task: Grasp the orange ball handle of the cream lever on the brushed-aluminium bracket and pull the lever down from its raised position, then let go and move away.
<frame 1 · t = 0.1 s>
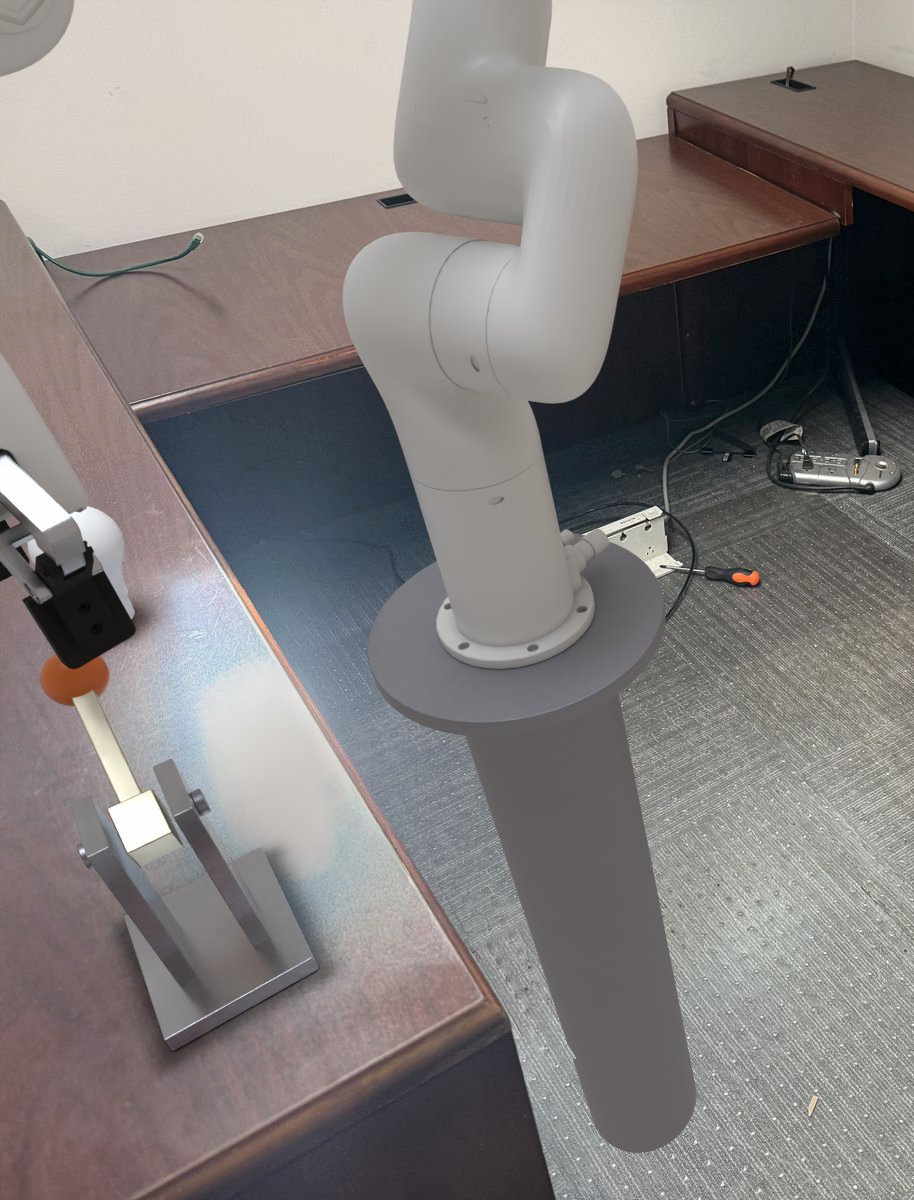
hand: (47, 613, 52), 23 cm above the table, tool pointing down, fingers open, 9 cm apart
lightbulb: (123, 626, 88), on the table
lever: (109, 748, 59), point 13 cm above the table, hinge at 25.0°
bracket: (223, 947, 64), on the table
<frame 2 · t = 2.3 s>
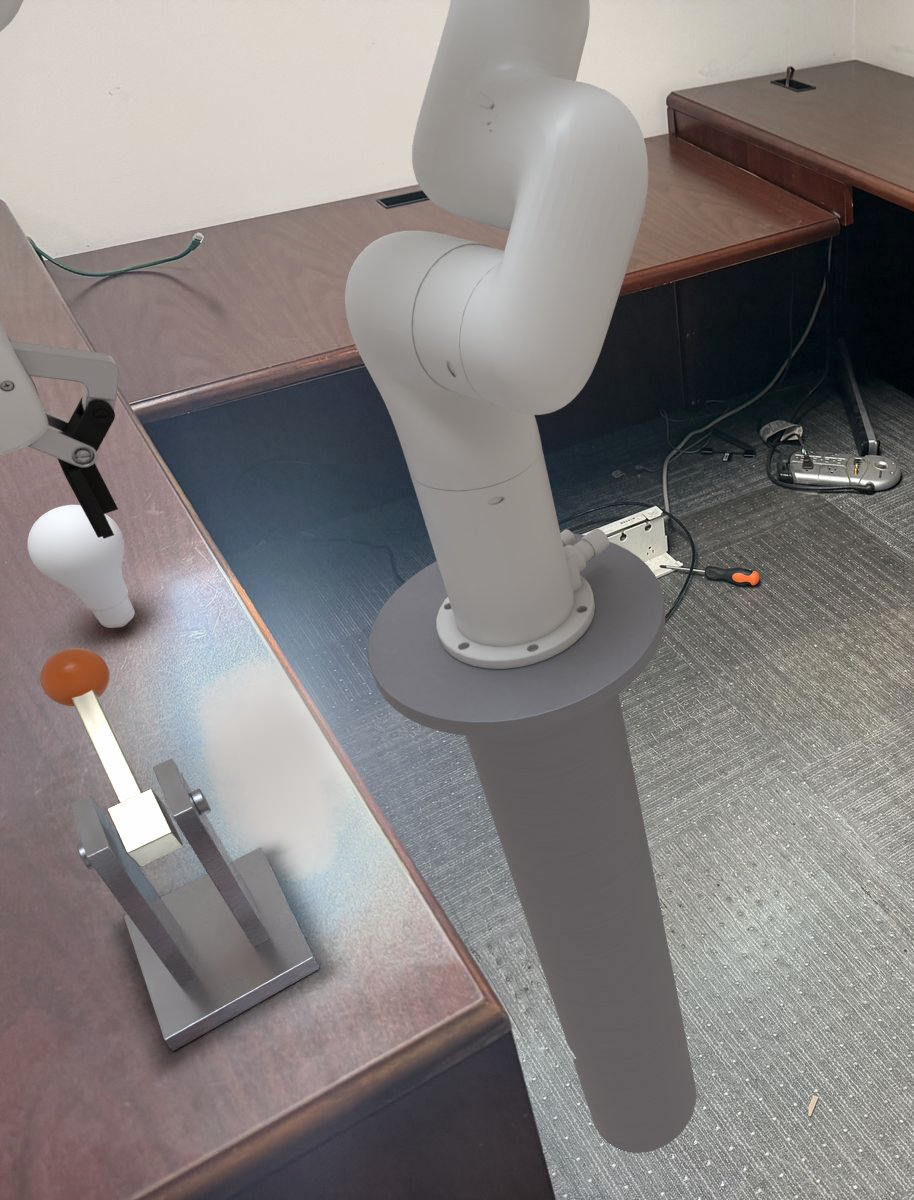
nothing on the table moved.
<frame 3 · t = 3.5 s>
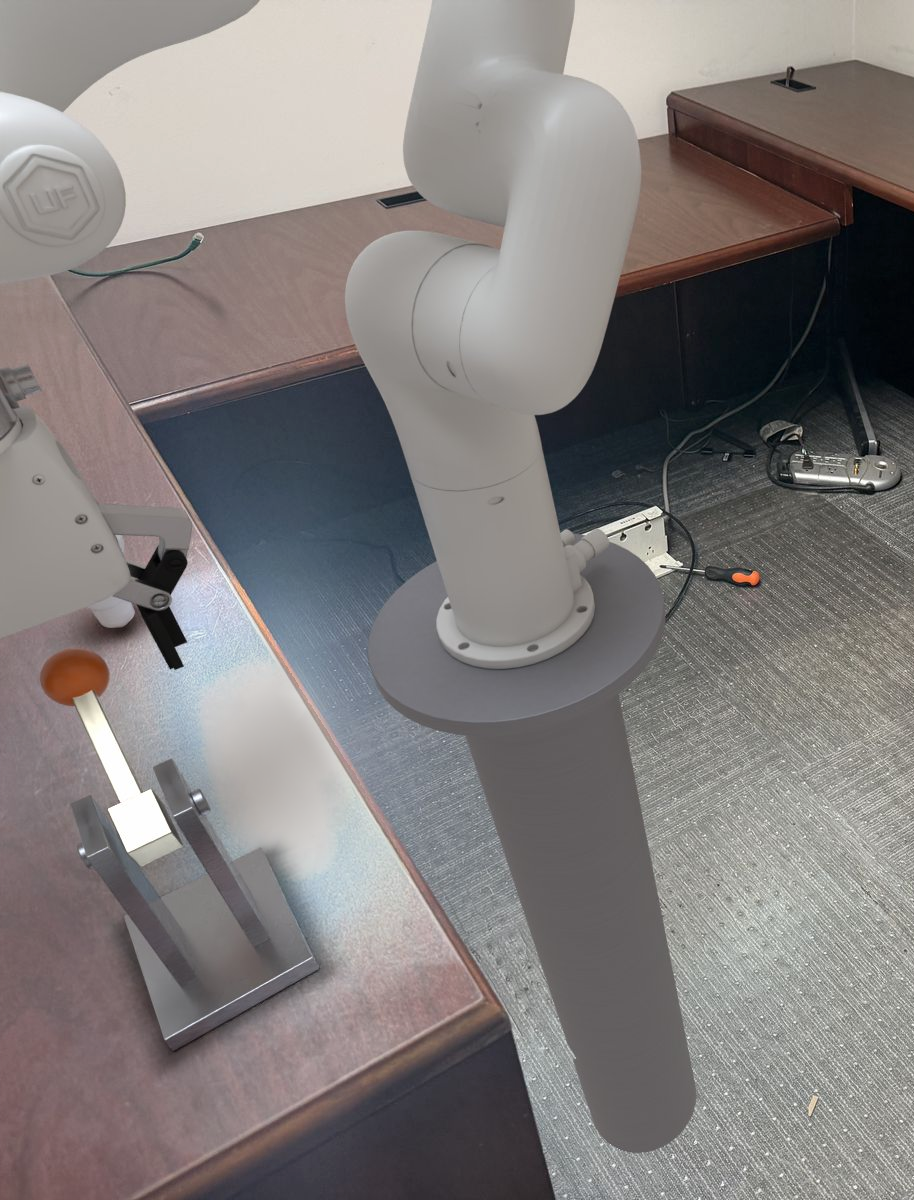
hand: (80, 693, 61), 14 cm above the table, tool pointing down, fingers open, 9 cm apart
nothing on the table moved.
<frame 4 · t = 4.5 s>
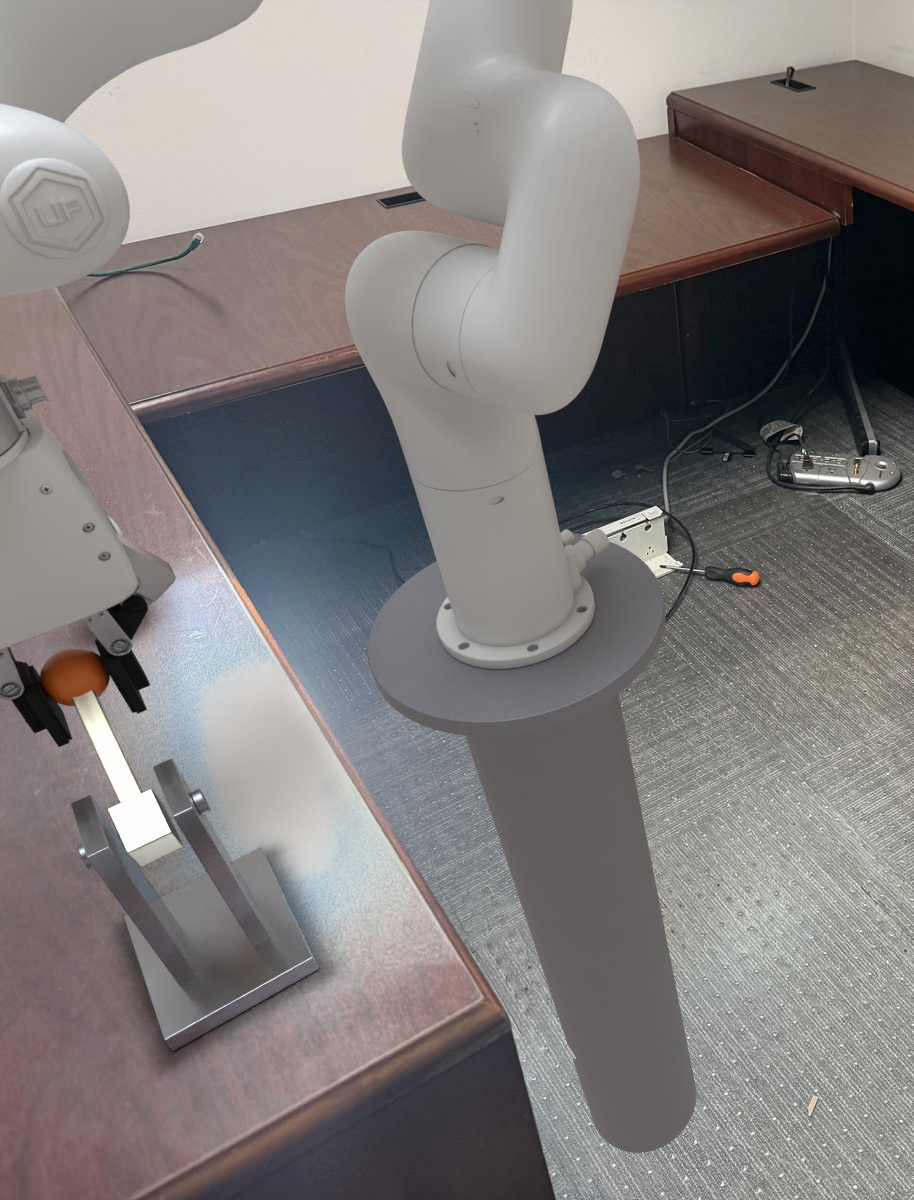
hand: (97, 712, 62), 12 cm above the table, tool pointing down, fingers closed on lever, 3 cm apart
lever: (109, 748, 59), point 13 cm above the table, hinge at 25.0°, touching gripper
everything else where it was.
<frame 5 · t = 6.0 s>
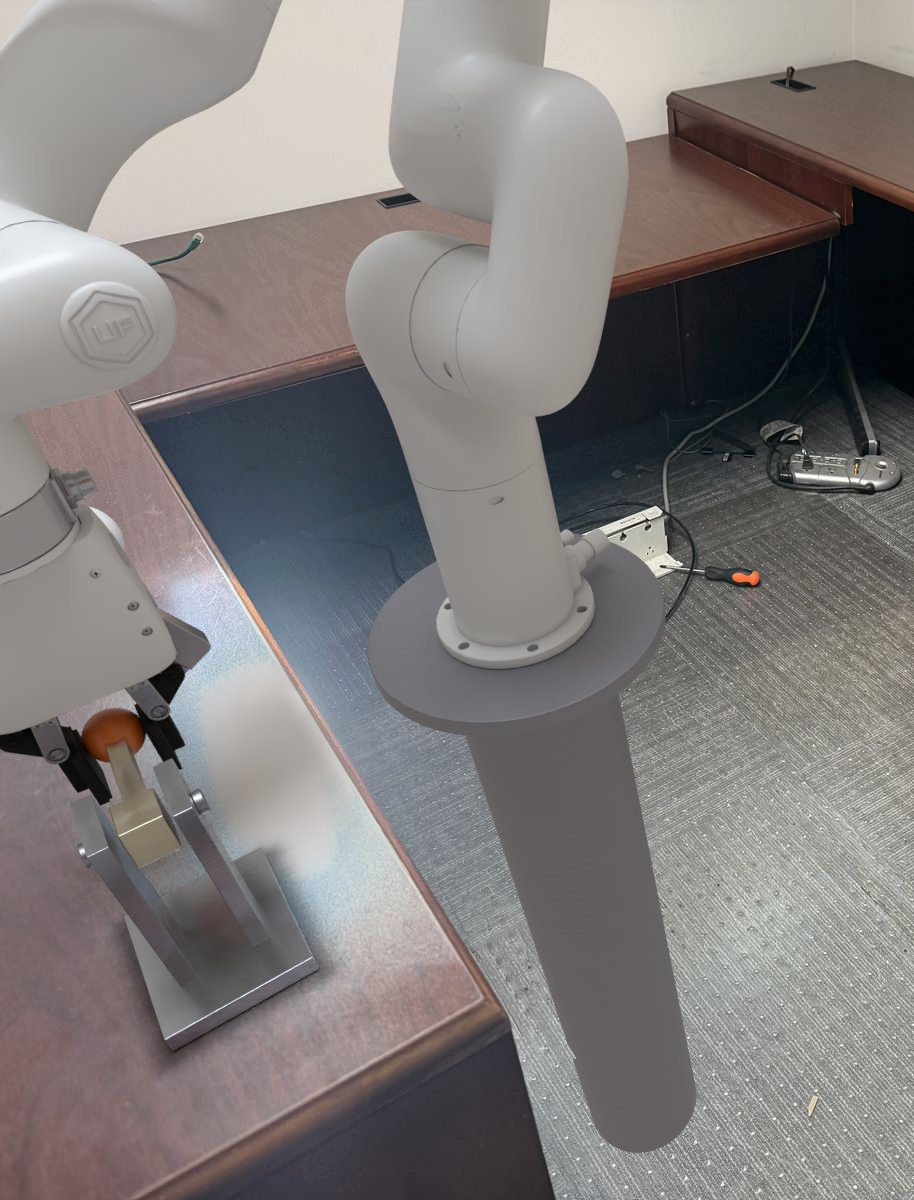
hand: (136, 771, 66), 7 cm above the table, tool pointing down, fingers closed on lever, 3 cm apart
lever: (128, 777, 61), point 10 cm above the table, hinge at -6.4°, touching gripper
everything else where it was.
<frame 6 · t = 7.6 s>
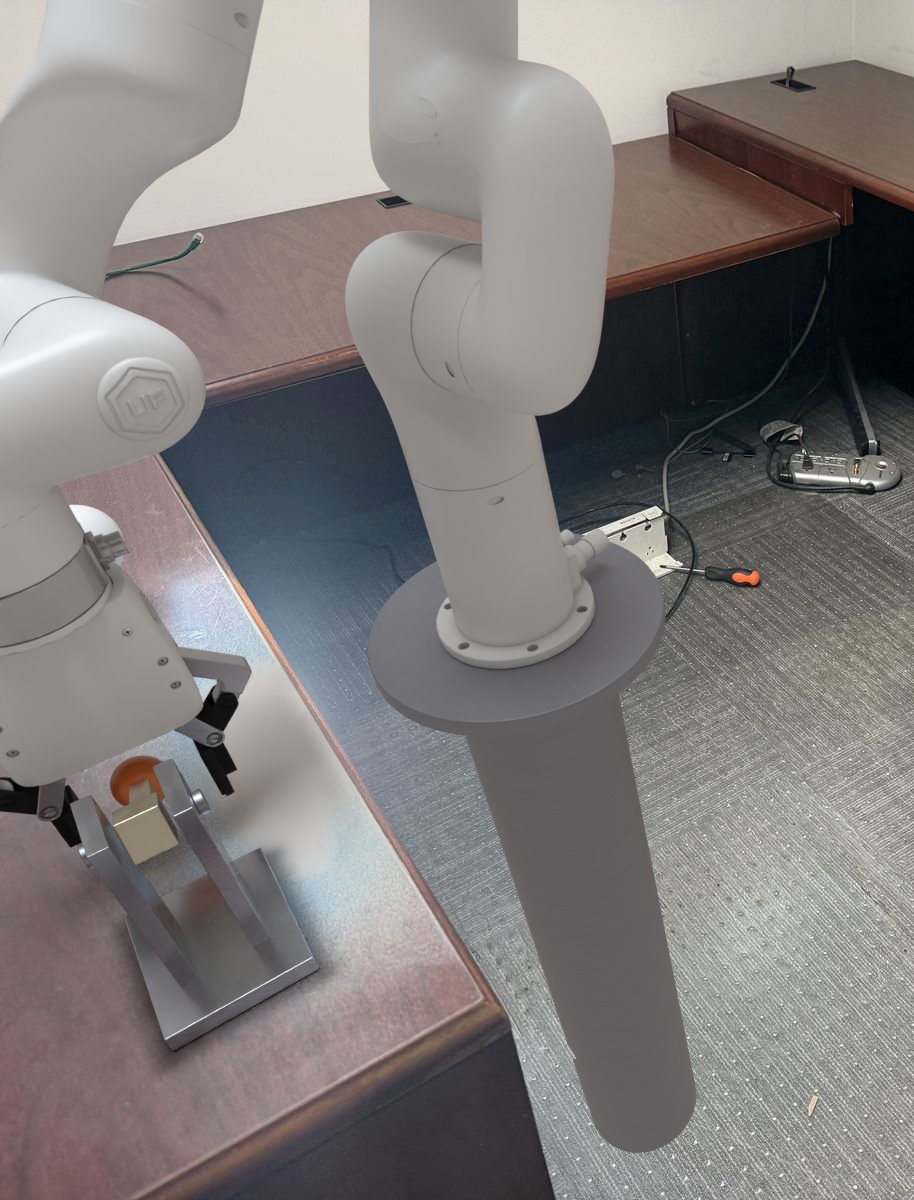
hand: (160, 810, 68), 4 cm above the table, tool pointing down, fingers open, 7 cm apart
lever: (143, 803, 61), point 9 cm above the table, hinge at -26.0°
everything else where it was.
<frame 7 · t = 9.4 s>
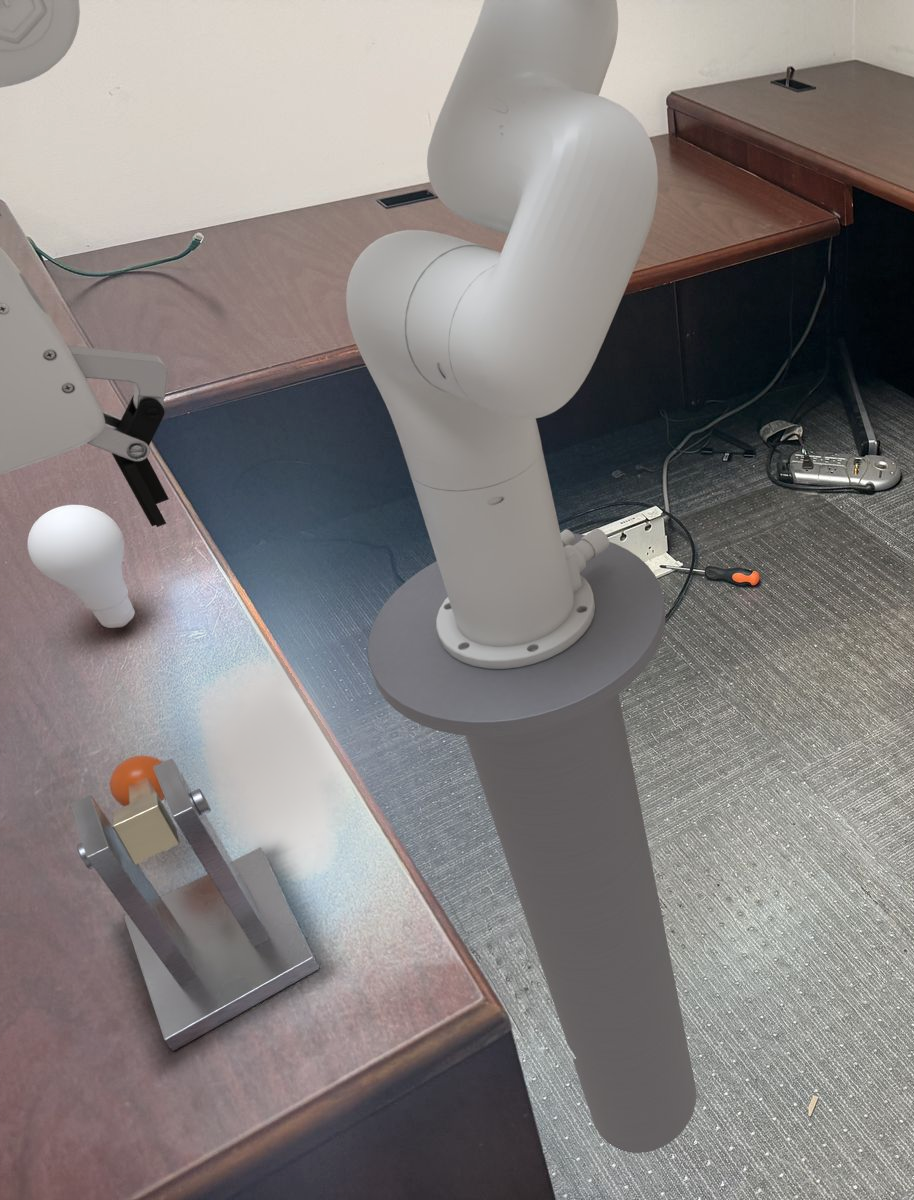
hand: (61, 551, 59), 21 cm above the table, tool pointing down, fingers open, 9 cm apart
nothing on the table moved.
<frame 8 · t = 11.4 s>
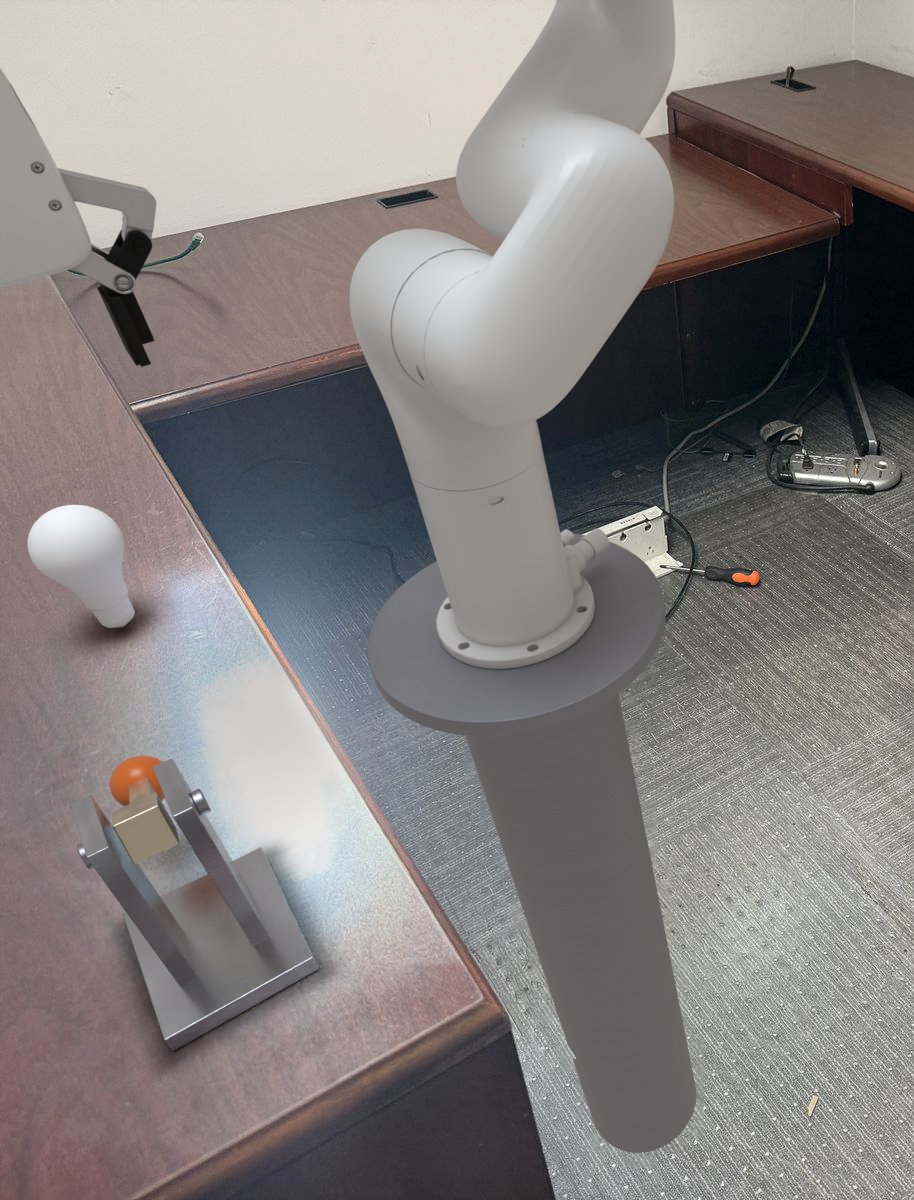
hand: (43, 385, 59), 28 cm above the table, tool pointing down, fingers open, 9 cm apart
nothing on the table moved.
at the end: lever at -26° (first picture: +25°) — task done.
